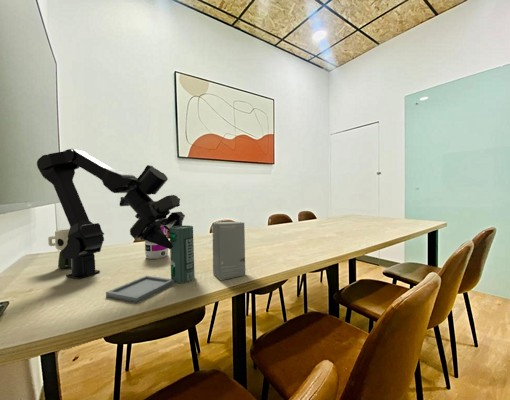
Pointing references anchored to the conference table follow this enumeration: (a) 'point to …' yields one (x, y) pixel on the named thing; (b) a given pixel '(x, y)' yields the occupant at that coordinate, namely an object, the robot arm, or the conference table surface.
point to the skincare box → (228, 249)
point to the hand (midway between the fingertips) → (180, 244)
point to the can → (182, 254)
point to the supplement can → (156, 248)
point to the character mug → (61, 246)
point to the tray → (140, 289)
